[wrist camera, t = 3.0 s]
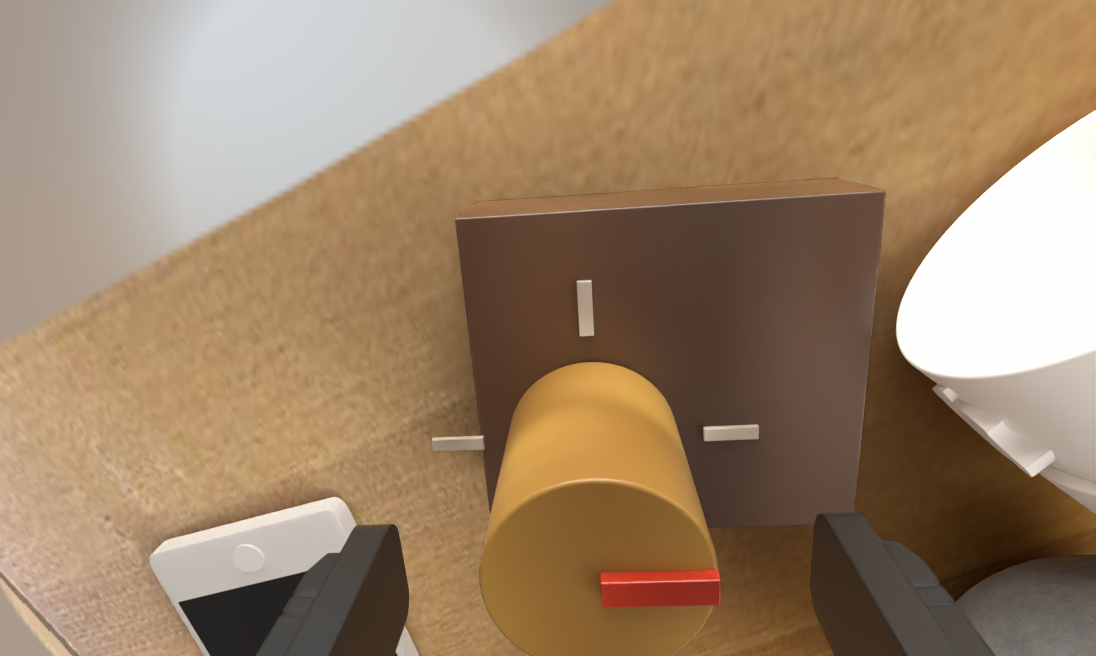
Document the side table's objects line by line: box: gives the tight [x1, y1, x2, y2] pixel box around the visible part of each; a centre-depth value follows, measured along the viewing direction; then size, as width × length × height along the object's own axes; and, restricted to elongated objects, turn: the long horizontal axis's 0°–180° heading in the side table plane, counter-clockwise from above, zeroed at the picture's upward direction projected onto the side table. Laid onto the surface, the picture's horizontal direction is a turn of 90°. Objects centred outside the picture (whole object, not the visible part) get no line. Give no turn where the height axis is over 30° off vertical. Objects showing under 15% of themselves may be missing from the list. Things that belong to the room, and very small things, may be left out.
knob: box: [479, 362, 721, 656], centre depth 14 cm, size 4×4×6 cm
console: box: [431, 178, 886, 528], centre depth 18 cm, size 11×10×3 cm
